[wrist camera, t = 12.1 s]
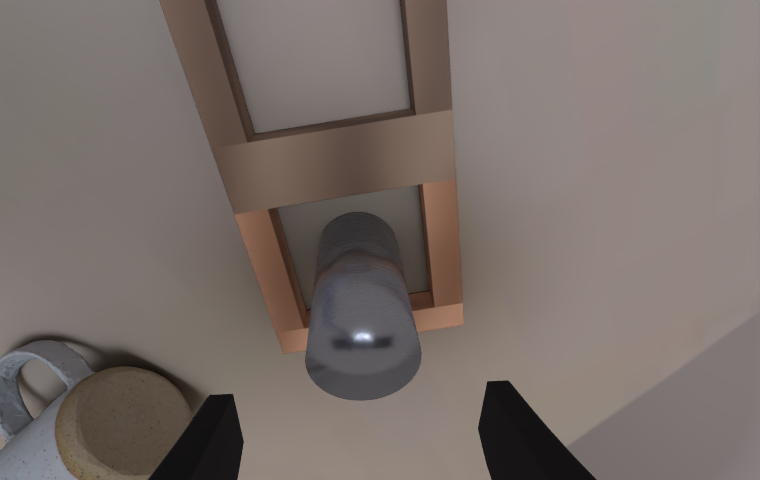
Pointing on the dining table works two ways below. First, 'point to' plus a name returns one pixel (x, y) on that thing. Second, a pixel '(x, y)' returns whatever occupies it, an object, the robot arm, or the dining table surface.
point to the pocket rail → (331, 160)
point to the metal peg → (361, 312)
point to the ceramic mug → (88, 420)
